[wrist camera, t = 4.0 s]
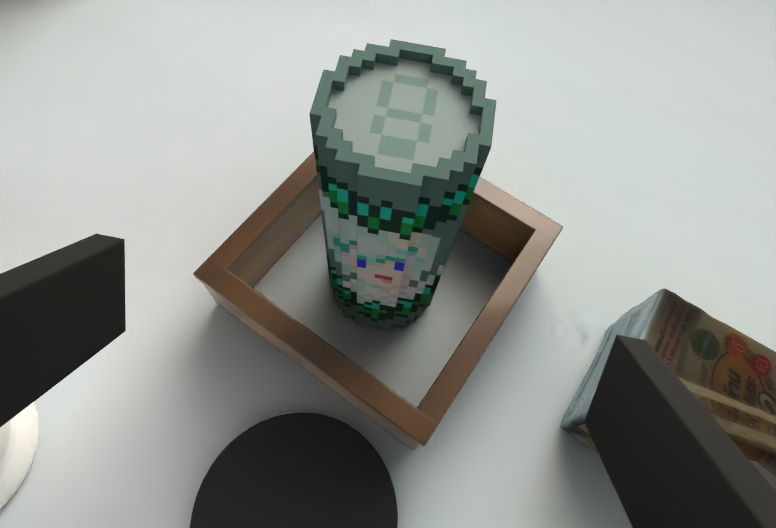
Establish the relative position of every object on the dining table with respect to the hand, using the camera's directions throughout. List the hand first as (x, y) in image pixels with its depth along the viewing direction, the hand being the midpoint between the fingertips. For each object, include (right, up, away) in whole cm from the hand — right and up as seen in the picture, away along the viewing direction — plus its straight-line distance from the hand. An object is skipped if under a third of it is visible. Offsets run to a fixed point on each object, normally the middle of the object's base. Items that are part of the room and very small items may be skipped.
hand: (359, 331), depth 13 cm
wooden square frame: (0, +1, +17) cm, 17 cm away
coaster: (-4, -11, +11) cm, 16 cm away
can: (0, +1, +17) cm, 17 cm away
